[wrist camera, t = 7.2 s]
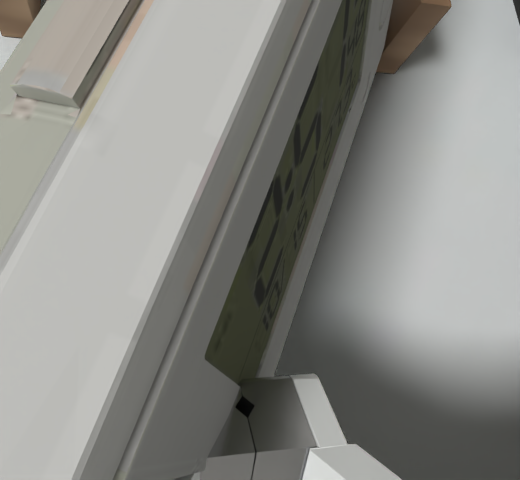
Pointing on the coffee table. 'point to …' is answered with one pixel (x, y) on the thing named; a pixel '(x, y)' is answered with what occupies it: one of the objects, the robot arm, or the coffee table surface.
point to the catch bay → (393, 56)
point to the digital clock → (162, 217)
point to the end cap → (517, 8)
